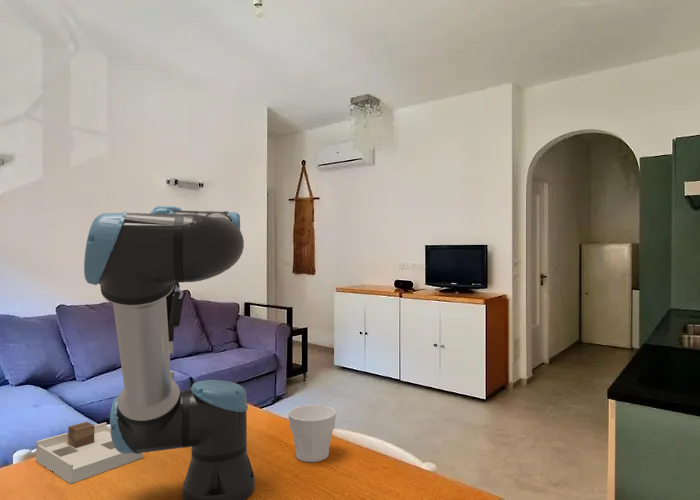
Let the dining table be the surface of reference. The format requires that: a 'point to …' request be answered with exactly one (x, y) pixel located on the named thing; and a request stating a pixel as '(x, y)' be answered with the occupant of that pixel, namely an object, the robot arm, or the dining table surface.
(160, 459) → the dining table surface
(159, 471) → the dining table surface
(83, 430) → the block
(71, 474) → the tray
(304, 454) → the cup
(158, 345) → the robot arm
